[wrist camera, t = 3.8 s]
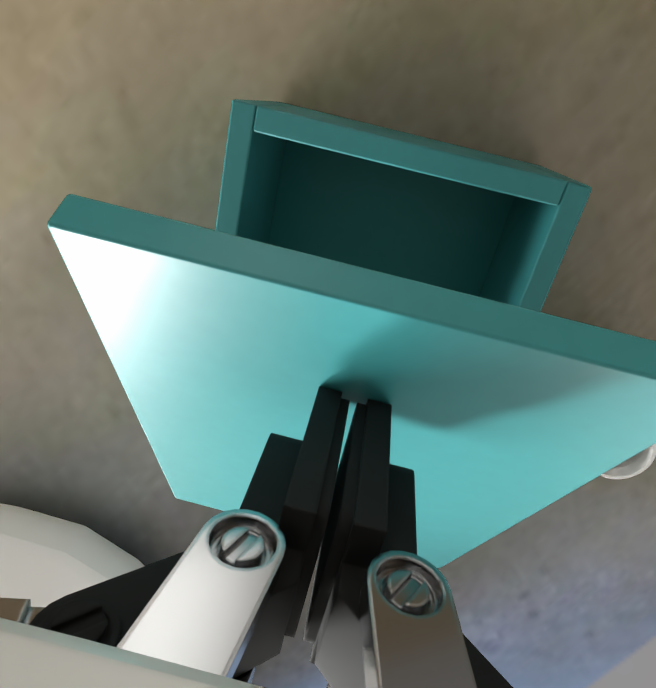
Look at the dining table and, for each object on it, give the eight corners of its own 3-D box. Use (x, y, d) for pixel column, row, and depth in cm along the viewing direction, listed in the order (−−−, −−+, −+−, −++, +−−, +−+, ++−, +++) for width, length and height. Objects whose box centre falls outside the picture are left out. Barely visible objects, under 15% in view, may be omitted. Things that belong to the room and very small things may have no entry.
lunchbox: (277, 101, 23) (231, 99, 17) (541, 166, 23) (593, 187, 16) (228, 404, 29) (182, 482, 23) (432, 457, 29) (440, 550, 23)
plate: (-59, 809, 43) (-296, 561, 34) (3, 724, 48) (-186, 492, 39) (246, 850, 33) (31, 521, 24) (278, 738, 39) (113, 439, 30)
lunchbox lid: (67, 191, 9) (43, 223, 9) (727, 357, 9) (737, 399, 9) (181, 480, 23) (174, 498, 23) (442, 549, 23) (440, 568, 22)
